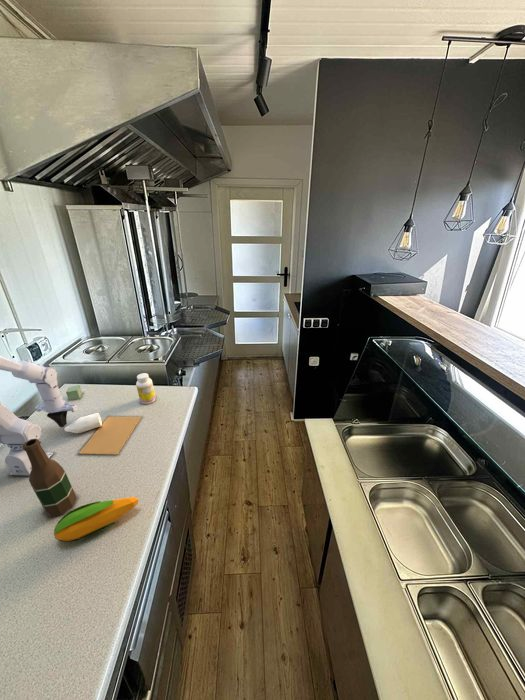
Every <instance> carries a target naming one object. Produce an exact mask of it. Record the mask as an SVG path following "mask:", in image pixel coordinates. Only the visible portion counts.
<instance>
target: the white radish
mask: <svg viewBox="0 0 525 700" xmlns="http://www.w3.org/2000/svg"><path fill="white" fill-rule="evenodd" d="M102 424H103V421H102V417H101V414H100V413H99V412H95V413H91V414H88V415H85V416H81V417H78V418H76V419H75V420H73V422H72V423H70V424H68V425H66V426H64V427H63V428H64V429H63V430H64V431H65V432H66V433H73V434H81V433H84V432H87V431H90V430H94V429H96V428H99V427H100V426H102Z"/></svg>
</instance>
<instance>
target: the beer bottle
mask: <svg viewBox="0 0 525 700" xmlns="http://www.w3.org/2000/svg"><path fill="white" fill-rule="evenodd" d="M40 444H41V445H42V441H41V440H40V439H39V440H38V439H37V438H36V439H31V440H29V441H27V442H25V443H24V445H23V449H24V450H25V451H26V453H27V455H28V458H29V460H30V463H31V467H32V470H31V472H30V475H28V481H29V484H30V486H31V488H32V490H33V491H34V493H35V495H36V498H37V499H38V501H39V503H40V504H41V506H42V508H43V510H44V511H45V512H46V514H48V515H49V517H55V516H60V515H63V514H64V513H66V512H67V511H69V510H70V509H71V508H72V507H73V506H74V503H75V501H76V499H77V495H76V493H75V490H74V488H73V486H72V483H71V481H70V479H69V477H68V474H67V473H66V471H65V468H64V467H63V466H62V465H60V464H59V463H58V462H57V461H56V460H55V459H51V458H48V456H47V455H46V453H45V452H46V451H45V449H44V447H43V445H42V446H41V445H40ZM42 447H43V448H42ZM43 449H44V450H43Z"/></svg>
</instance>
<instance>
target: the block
mask: <svg viewBox="0 0 525 700" xmlns="http://www.w3.org/2000/svg"><path fill="white" fill-rule="evenodd" d="M65 394H66V396H67V399H68V401H74V400H78V399H79V400H80V399H81V398H82V394H83V390H82V388H81V385H80V384H78V385H73V386H72V385H71V386H68V387H67V389H66V391H65Z"/></svg>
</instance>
